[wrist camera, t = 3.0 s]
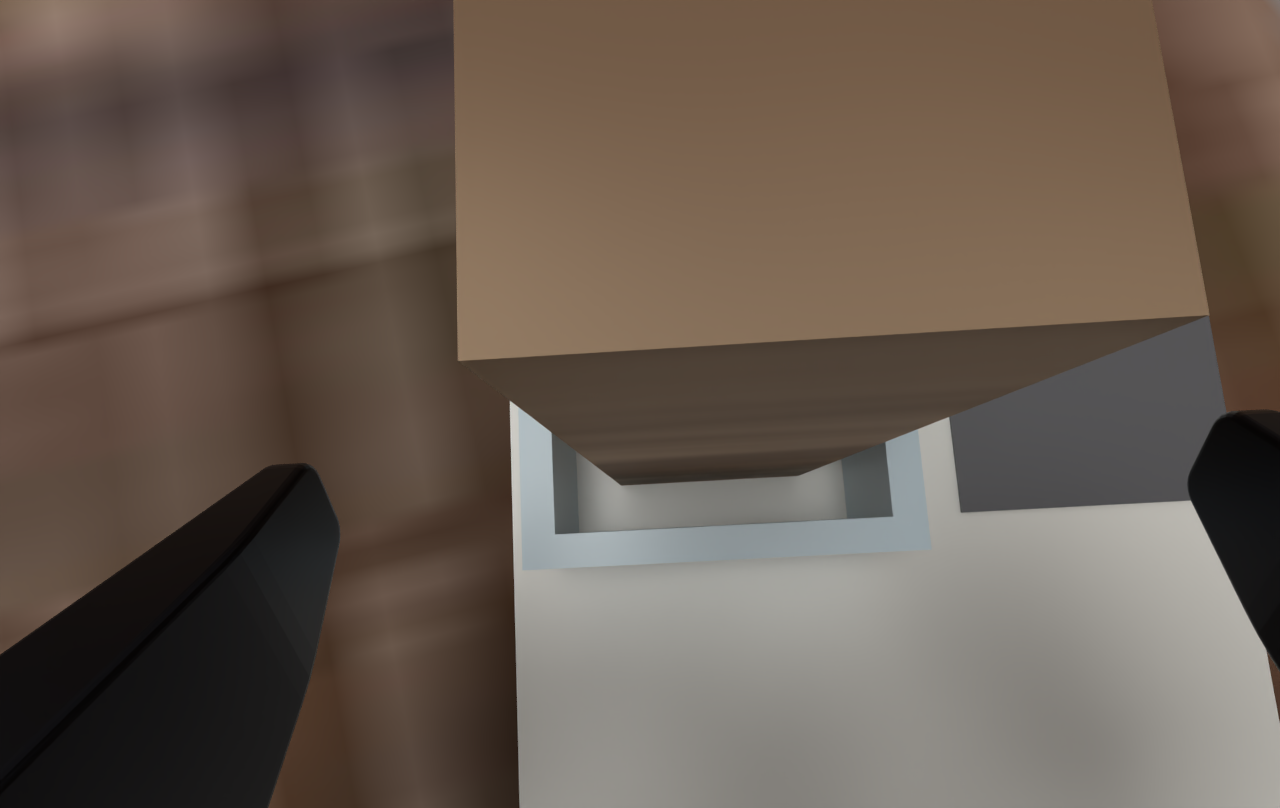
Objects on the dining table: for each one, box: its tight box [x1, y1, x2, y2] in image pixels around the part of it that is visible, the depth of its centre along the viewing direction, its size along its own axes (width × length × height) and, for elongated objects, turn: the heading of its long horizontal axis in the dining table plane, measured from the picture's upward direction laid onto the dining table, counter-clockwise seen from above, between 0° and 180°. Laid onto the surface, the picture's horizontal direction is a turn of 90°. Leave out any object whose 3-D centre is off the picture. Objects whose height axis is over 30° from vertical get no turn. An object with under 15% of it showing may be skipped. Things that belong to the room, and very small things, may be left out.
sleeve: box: [518, 407, 932, 570], centre depth 15 cm, size 7×7×4 cm
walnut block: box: [453, 0, 1209, 486], centre depth 11 cm, size 4×4×13 cm
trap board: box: [510, 316, 1280, 808], centre depth 17 cm, size 24×16×1 cm, turn 3°
